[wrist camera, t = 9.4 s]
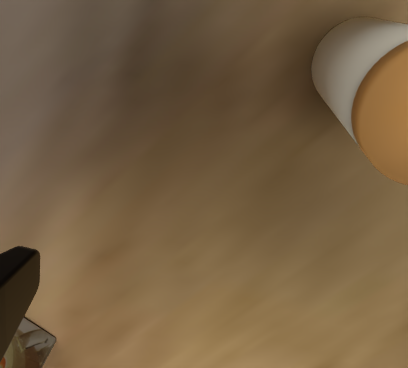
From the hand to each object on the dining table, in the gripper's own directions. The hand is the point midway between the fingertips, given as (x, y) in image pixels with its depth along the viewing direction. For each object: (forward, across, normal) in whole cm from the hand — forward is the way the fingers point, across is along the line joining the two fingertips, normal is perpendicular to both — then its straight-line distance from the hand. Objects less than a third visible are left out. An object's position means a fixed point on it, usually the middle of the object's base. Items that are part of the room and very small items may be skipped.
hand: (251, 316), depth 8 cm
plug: (+12, -4, -4) cm, 14 cm away
